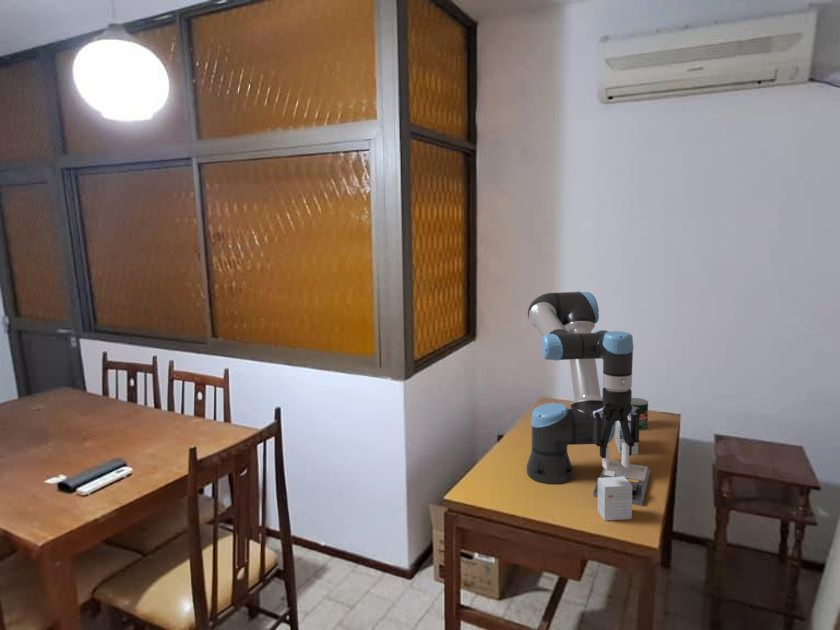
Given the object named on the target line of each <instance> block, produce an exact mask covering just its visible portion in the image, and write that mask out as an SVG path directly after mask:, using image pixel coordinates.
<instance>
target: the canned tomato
mask: <svg viewBox="0 0 840 630" xmlns="http://www.w3.org/2000/svg"><path fill="white" fill-rule="evenodd" d="M631 405H632V407H634V406H636V407H638V408H639V409H641V414H640V417H639V432H641V431H642V430H644V431H646V430H647V429H648V428H649V427H648V423H649V422H648V420H649V419H648V417H649V416H648V415H649V401H648V400H647V399H646V398H645V399H644V398H639V397H632V398H631ZM628 416H629V417H631V412H630V413H629V414H628Z"/></svg>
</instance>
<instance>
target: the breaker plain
mask: <svg viewBox="0 0 840 630" xmlns="http://www.w3.org/2000/svg"><path fill="white" fill-rule="evenodd" d="M605 477H615V471H609V470H605V473H604V477H603V478H605Z"/></svg>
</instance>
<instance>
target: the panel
mask: <svg viewBox="0 0 840 630" xmlns="http://www.w3.org/2000/svg"><path fill="white" fill-rule="evenodd" d="M648 467H649V466H646V465H645V466H644V465H639V464H633V463H629V468H625V467H624V466H623V465H622V464H621V461H614V460H611V459H609V471H615V477H621V476H624V477H625V478H626V479H627V480H628V479H633V480H638V481H639V487H638V489H637V490H636V491H635V490H632V505H636V506H639V507H643V505H644V500H645V497H646V492H647V489H646V488H647V487H648V483H649V479H650V475H651V470H650V469H649V468H648ZM605 470H606V469H605V468H604V467H603V468H602V470H601V473H600V475H599V477H598V478H603V477H604V473H605ZM592 495H593V497H596V498H598V481H597V482H596V485H595V487H594V490H593V494H592Z"/></svg>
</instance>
